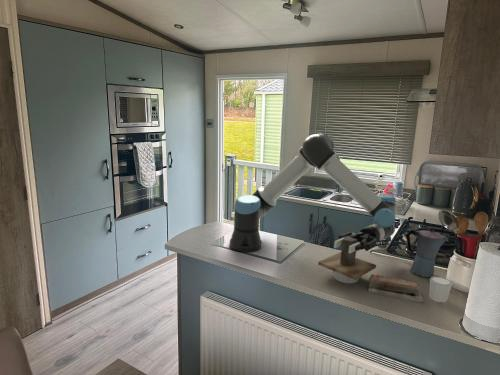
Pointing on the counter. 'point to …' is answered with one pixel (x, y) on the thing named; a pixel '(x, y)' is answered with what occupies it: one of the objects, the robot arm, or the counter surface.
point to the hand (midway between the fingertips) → (342, 247)
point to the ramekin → (343, 278)
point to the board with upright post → (347, 262)
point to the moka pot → (425, 251)
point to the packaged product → (394, 288)
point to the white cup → (439, 289)
